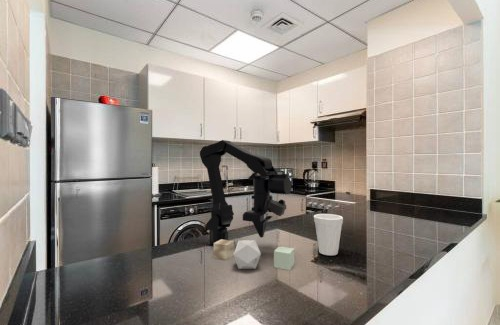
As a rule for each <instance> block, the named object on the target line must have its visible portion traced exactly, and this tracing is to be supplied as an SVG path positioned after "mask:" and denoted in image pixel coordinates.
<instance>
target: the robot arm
mask: <svg viewBox="0 0 500 325" xmlns="http://www.w3.org/2000/svg"><path fill="white" fill-rule="evenodd" d="M226 154H229V155H230V156H232V157H234V158H236V159H237V160H238V161H241V162H243V163H244V164H245V165H246V166H247V168H248V169H249V170H250V171H252V174H251V175H250V176H248V178H247V179H248V180H251V181H252V180H253V194H252V195H251V199H253V206H252V207H251V208H250V210H247V211H245V212H243V214H242V221H243V222H251V223H252V224H253V225H254V228H255V230H256V232H257V234H258V237H259V238H264V237H265V232H266V229H267V224H268V221H270V220H272V218H273V217H274V216H273V215H270V213H273V214H274V215H276V216H279V217H282V215H284V214H285V211H286V209H287V204H286V200H285V199H279V200H275V199H273V196H272V194H273V195H274V194H278V195H290V193H291V191H292V188H293V185H292V182H291V179H290V177H289V173H278V172H277V170H276V169H275V167H274V165H273V162H272V159H271V158H270V157H266V156H263V155H258V154H254V153H252V152H250V151H248V150H246V149H244V148H243V147H241V146H238V145H237V144H235V143H233V142H231V141H230V140H226V139H221V140H219V141H217V142H215V143H212V144H209V145H205V146H203V147H202V148H201V149H200V150H199V157H200V160H201V164H203V166H204V167H205V168H206V170H207V171H206V172H207V175H208V181H209V188H210V192H211V193H210V194H211V198H212V203H213V204H212V207H211V211H210V216H211V217H210V219H209V220H208V221H207V222H206V223H205V226H206V230H207V231H208V230H209V242H207V245H208V246H213V247H214V243H215V242H217V241H219V240H221V239H223V240H229V232H228V228H229V227H230V226H231V223H233V222H232V221H233V220H234V215H235V213H234V211H233V210H234V209H233V204H228V202H227V200H226V197H225V196H226V195H225V191H224V184H223V180H222V179H223V178H222V173H221V171H220V166H221V162H222V157H223V156H225V155H226Z"/></svg>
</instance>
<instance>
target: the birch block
mask: <svg viewBox="0 0 500 325" xmlns="http://www.w3.org/2000/svg"><path fill="white" fill-rule="evenodd" d="M234 251H235V240H229V239H228V240H223V239H221V240H219V241H217V242H215V243H214V246H213V258H214V259H217V260H223V261H228V260H230V258H232V257H234V255H233V254H234Z"/></svg>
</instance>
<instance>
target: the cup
mask: <svg viewBox="0 0 500 325" xmlns="http://www.w3.org/2000/svg"><path fill="white" fill-rule="evenodd" d="M313 221H314V224H315V225H314V226H315V232H316V239H317V244H318V251H319V254H322V255H324V256H336V255H338V253H339V248H340V239H341V233H342V227H343V223H344V217H343V216H342V215H338V214H335V213H334V214H333V213H317V214H314V215H313Z"/></svg>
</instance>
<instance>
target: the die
mask: <svg viewBox="0 0 500 325" xmlns="http://www.w3.org/2000/svg"><path fill="white" fill-rule="evenodd" d="M237 241H238V242H237V245H236V247H235V248H234V254H233V255H234V256H233V257H234V261H235V263H236V266H237V269H238V270H256V268H257V266H258V263H259V260H260V257H261V255H262V252H261V251H260V249H259V247H258V243H257V242H256V239H253V240H252V239H250V240H249V239H245V240H244V239H243V240H241V239H238V240H237Z"/></svg>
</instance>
